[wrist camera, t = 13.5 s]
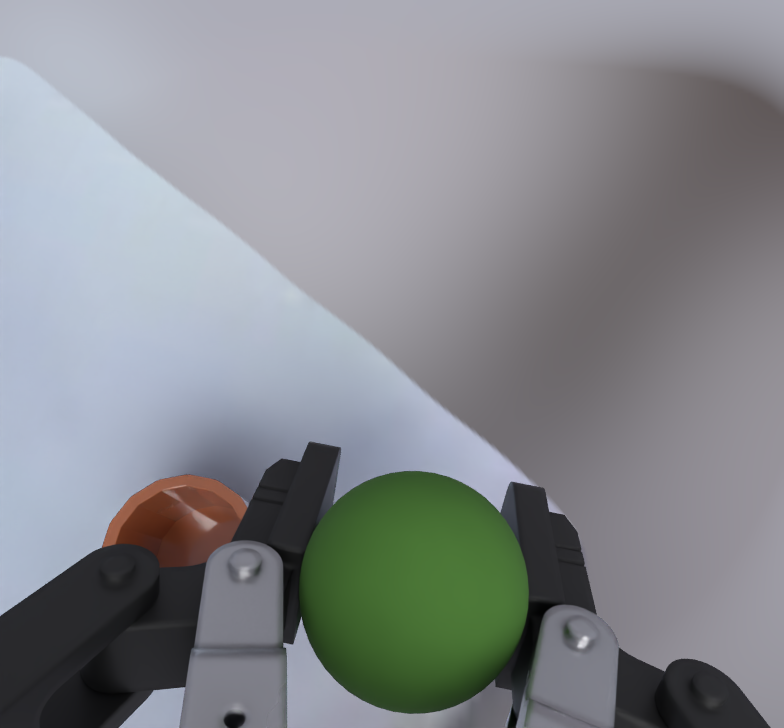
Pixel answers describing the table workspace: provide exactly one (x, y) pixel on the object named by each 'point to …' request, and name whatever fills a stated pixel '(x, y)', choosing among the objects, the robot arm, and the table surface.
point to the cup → (179, 519)
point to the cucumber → (413, 592)
